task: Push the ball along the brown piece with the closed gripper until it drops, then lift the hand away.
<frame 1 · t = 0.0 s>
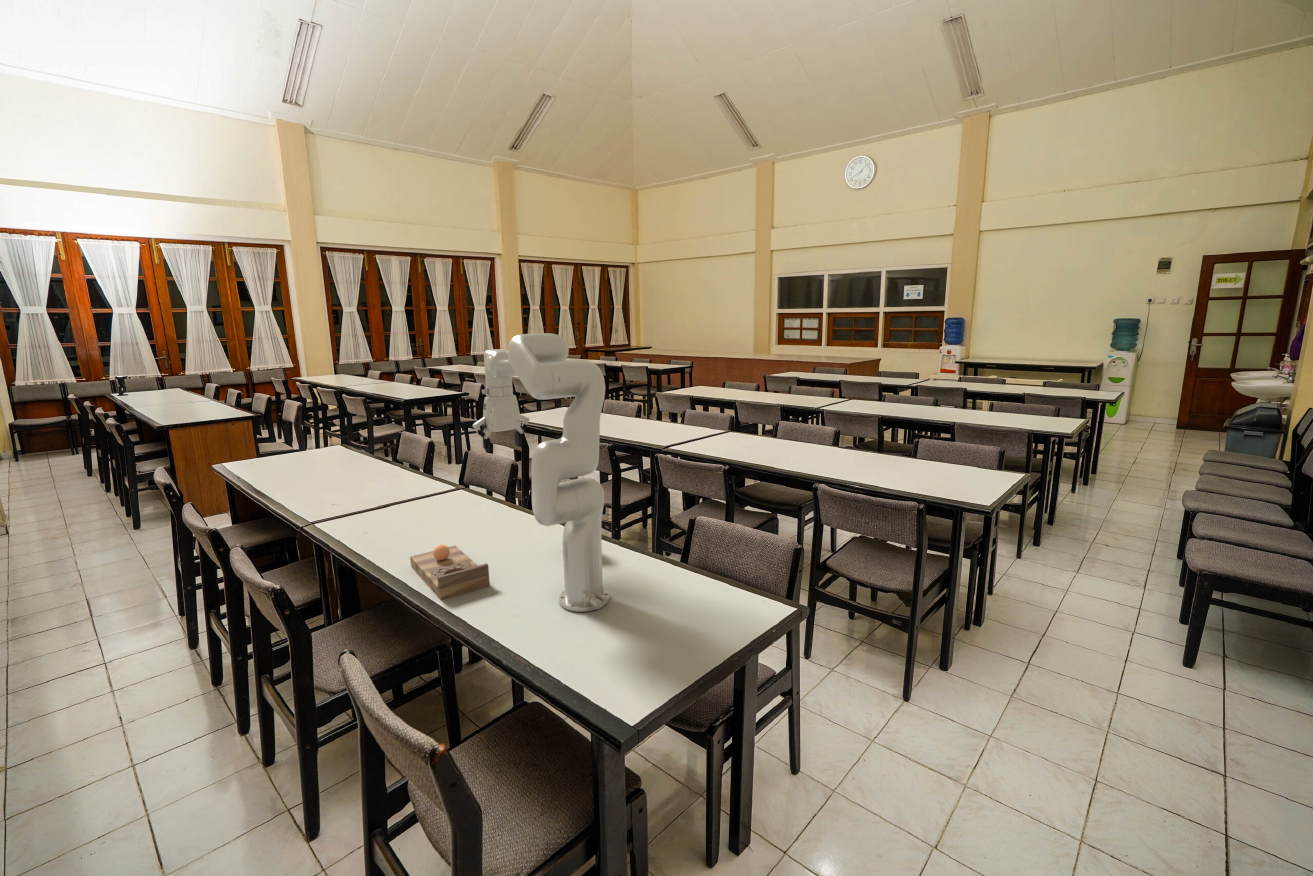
hand: (503, 448, 179), 31 cm above the table, fingers open, 9 cm apart
ball: (441, 552, 168), point 5 cm above the table, touching brown piece
brown piece: (448, 575, 165), on the table
supplement bottle: (576, 552, 180), on the table
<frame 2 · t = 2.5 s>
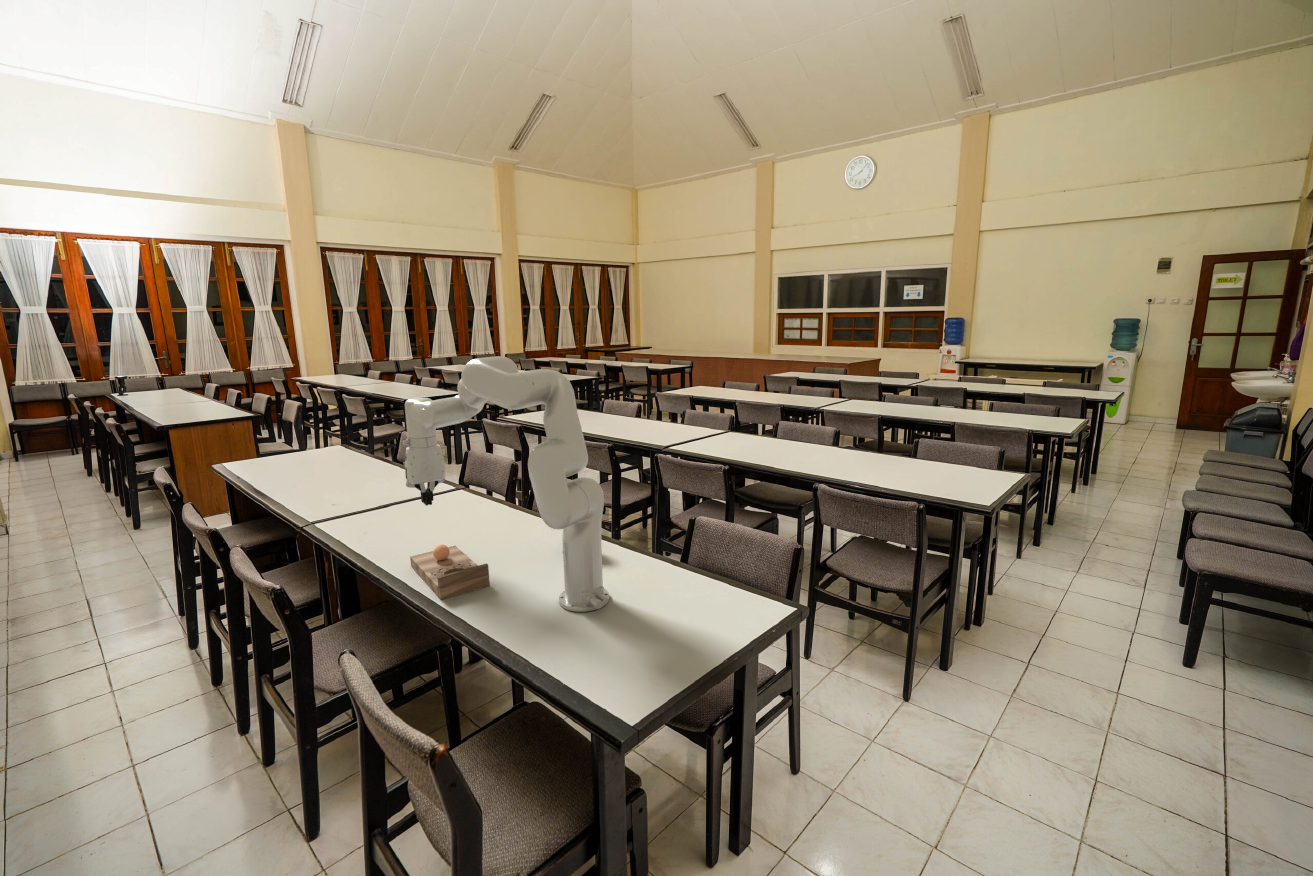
hand: (427, 503, 172), 17 cm above the table, fingers closed
nothing on the table moved.
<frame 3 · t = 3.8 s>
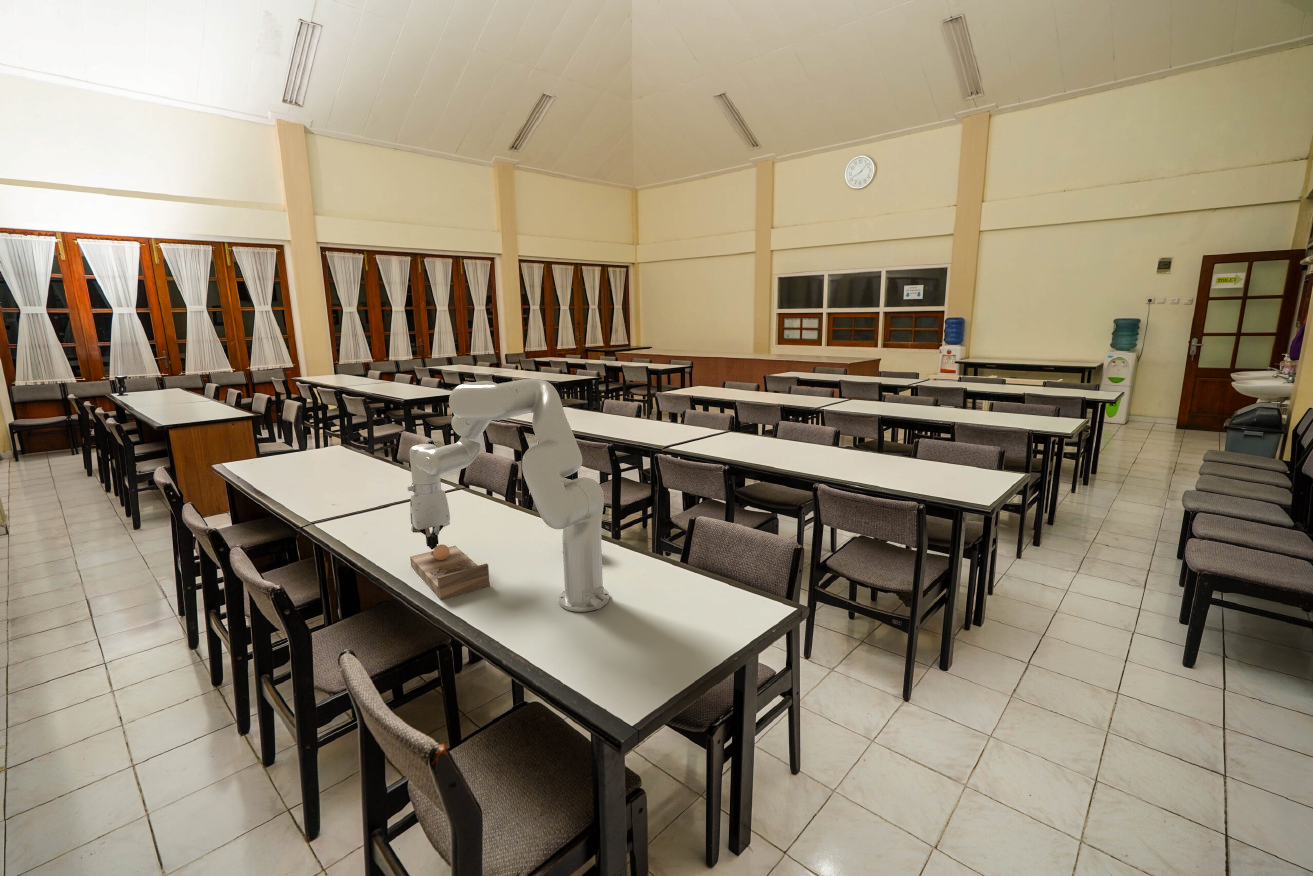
hand: (432, 547, 174), 4 cm above the table, fingers closed
nothing on the table moved.
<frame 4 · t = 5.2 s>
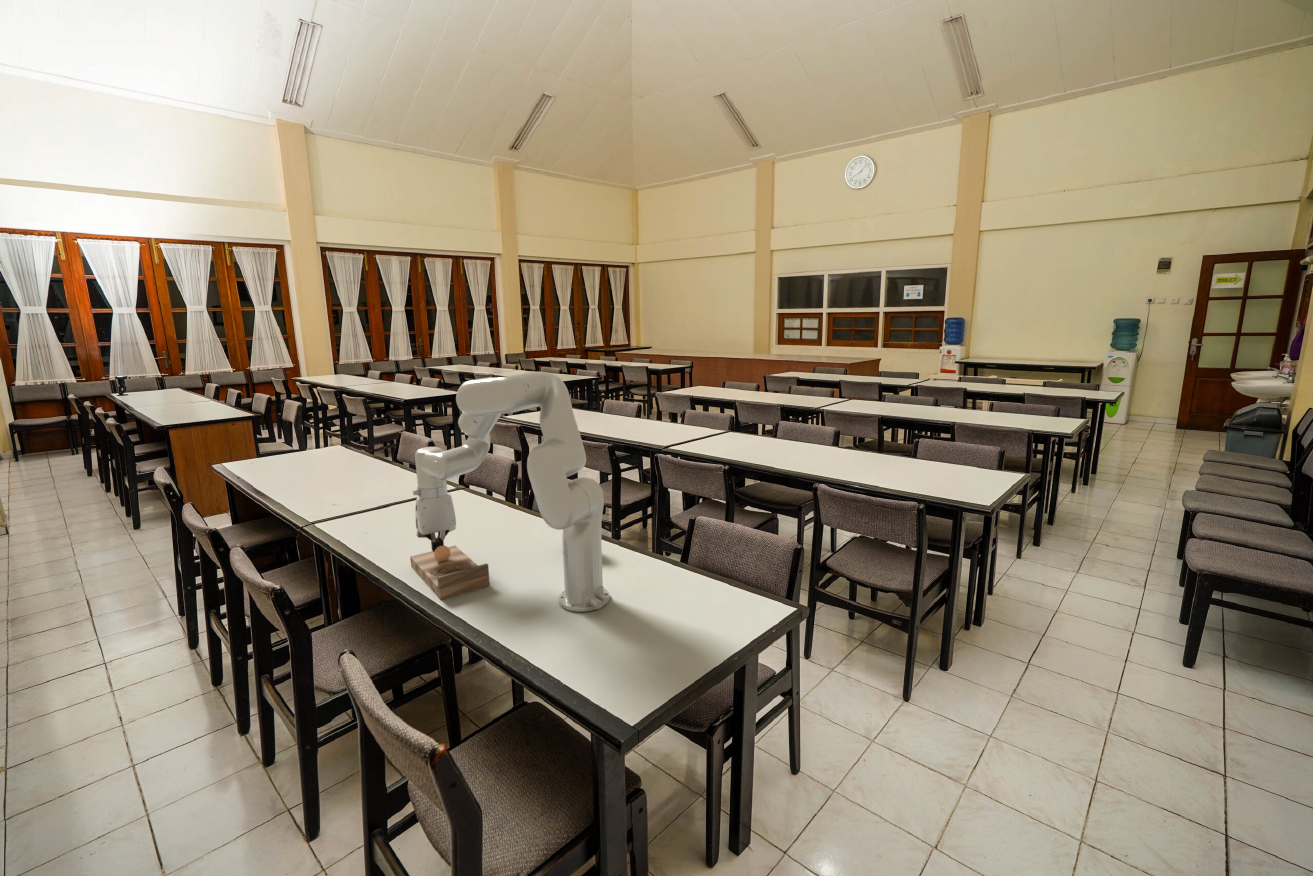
hand: (438, 552, 170), 4 cm above the table, fingers closed
ball: (442, 553, 167), point 5 cm above the table, tilted 25°, touching brown piece, gripper
everything else where it was.
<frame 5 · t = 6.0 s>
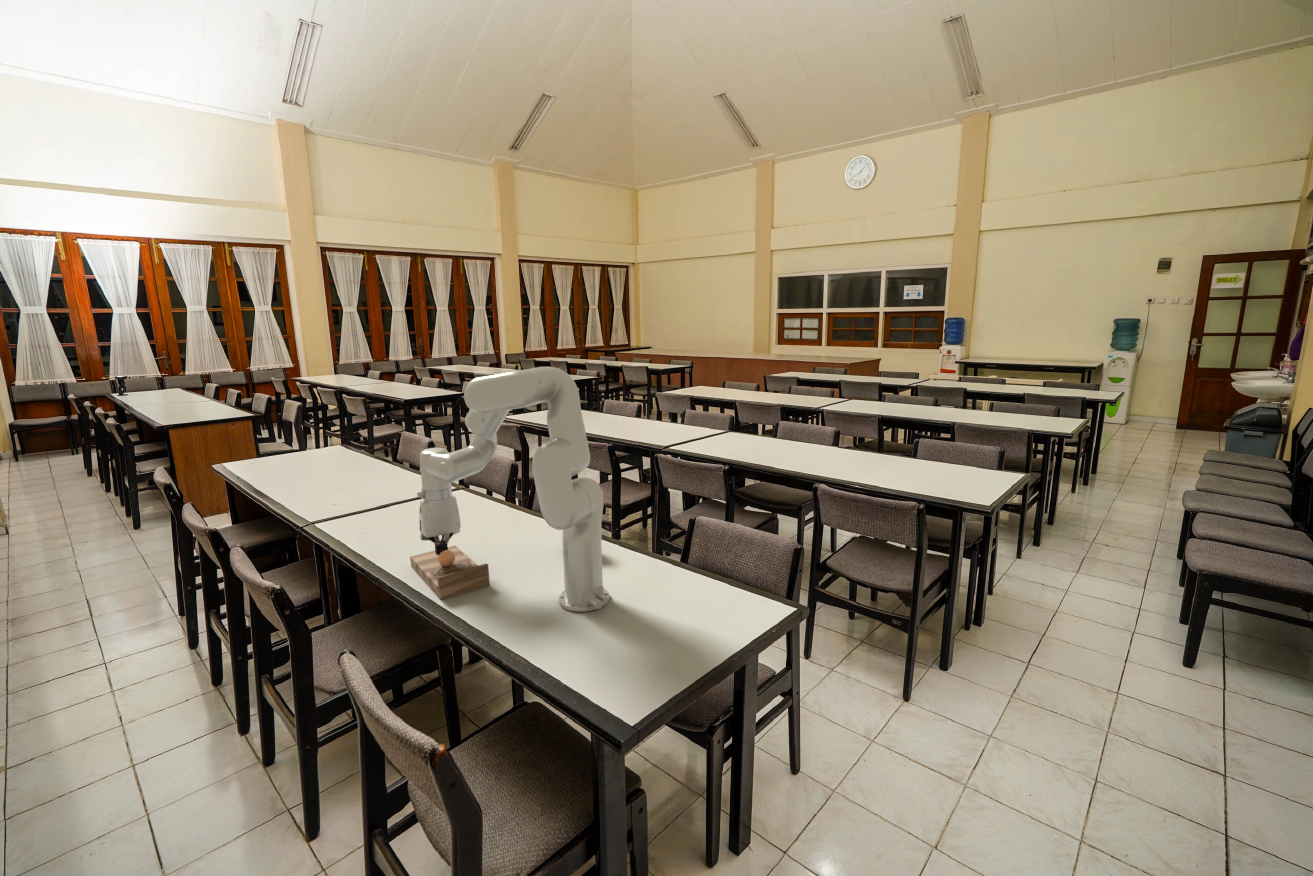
hand: (441, 555, 167), 5 cm above the table, fingers closed
ball: (446, 558, 164), point 5 cm above the table, tilted 85°, touching brown piece, gripper
everything else where it was.
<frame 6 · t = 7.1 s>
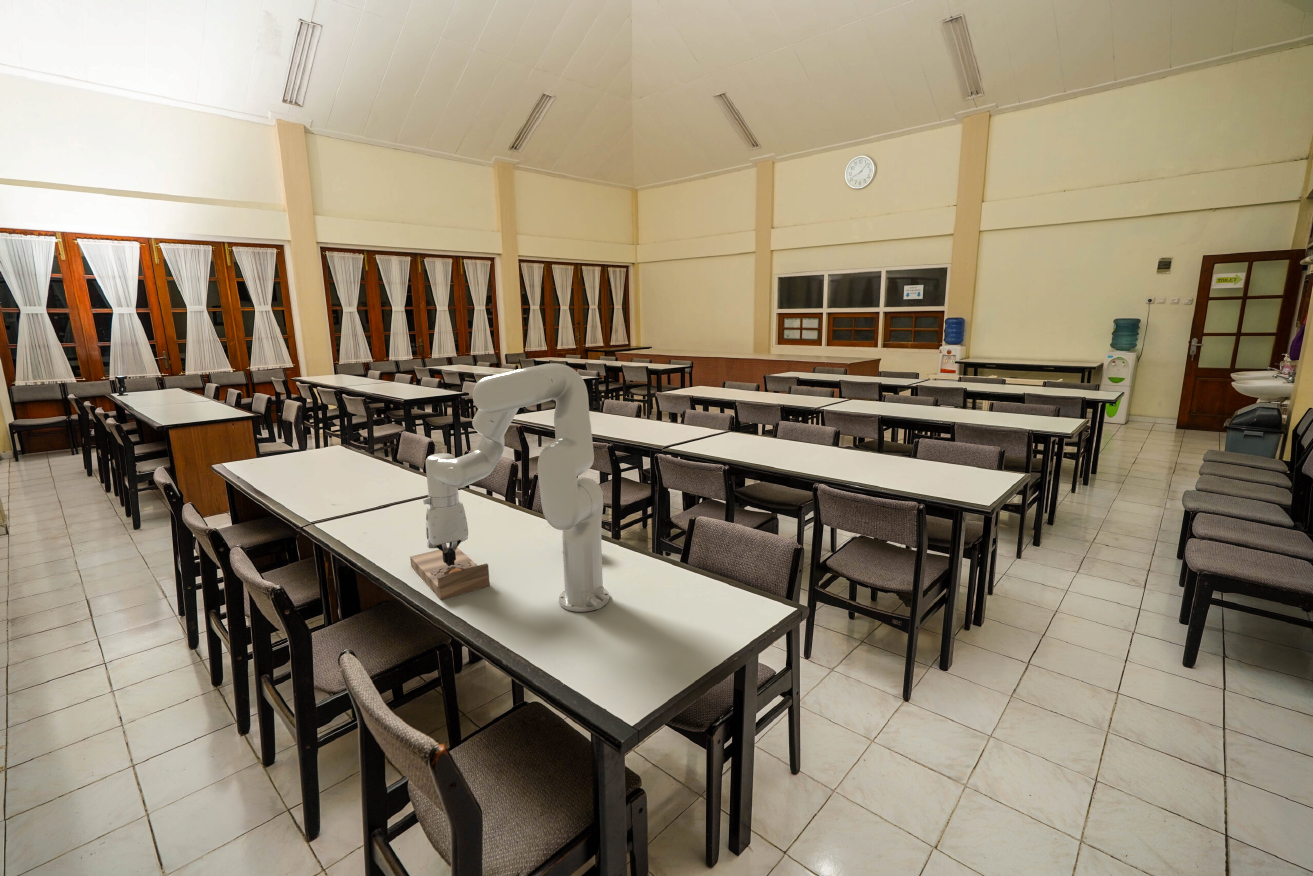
hand: (449, 563, 163), 4 cm above the table, fingers closed
ball: (456, 576, 159), point 2 cm above the table, tilted 95°
everything else where it was.
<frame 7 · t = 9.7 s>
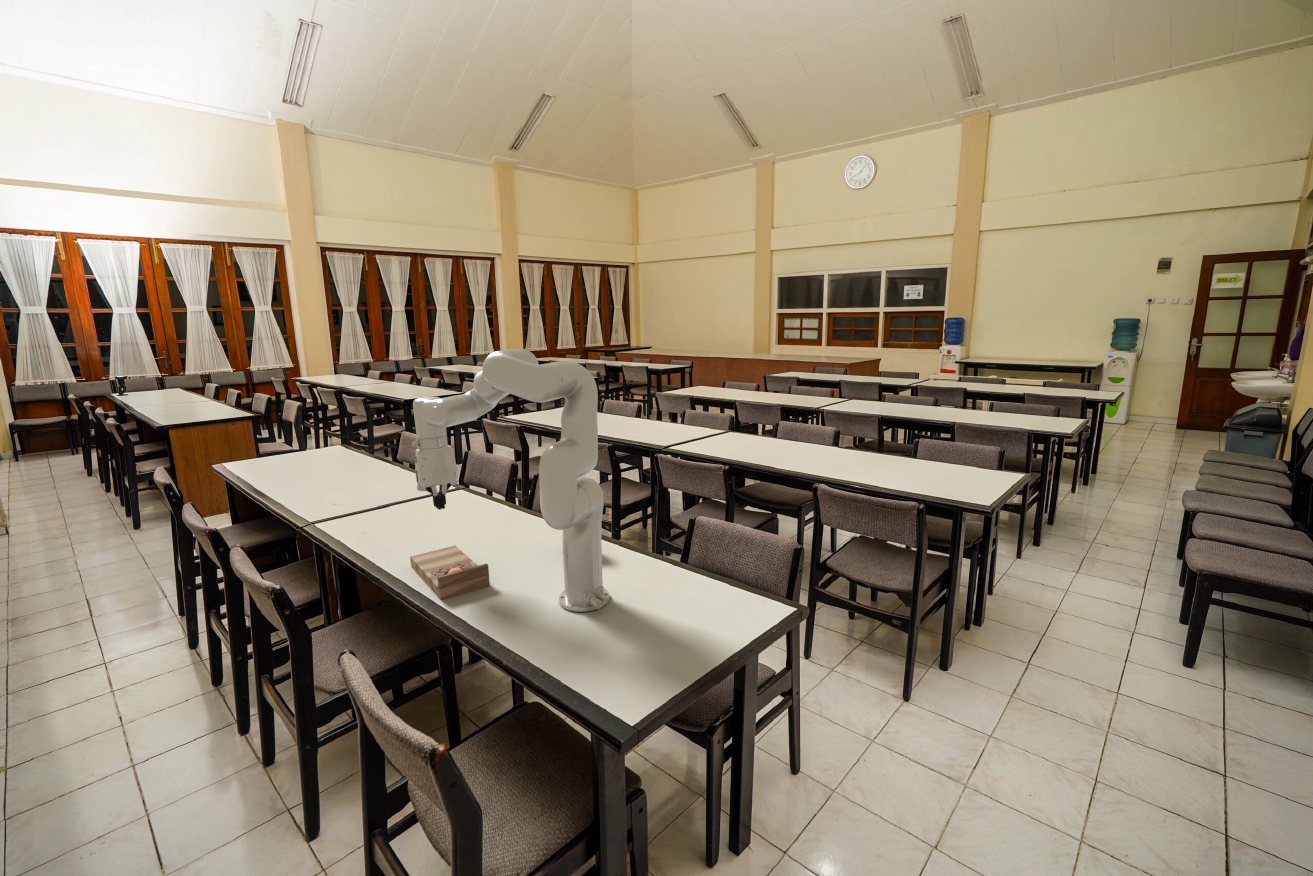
hand: (440, 508, 164), 19 cm above the table, fingers closed
ball: (455, 576, 160), point 2 cm above the table, tilted 109°
everything else where it was.
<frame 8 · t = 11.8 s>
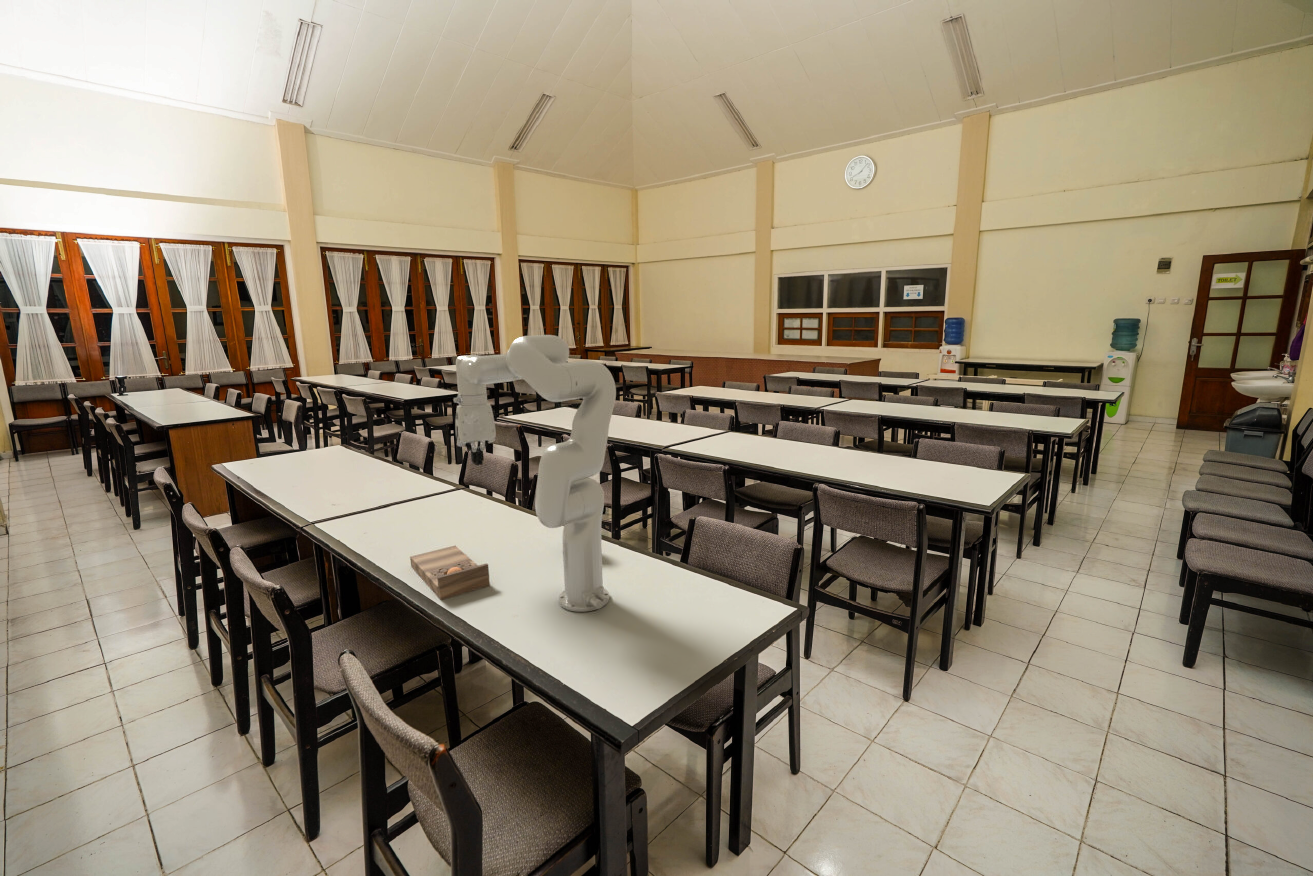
hand: (477, 464, 169), 29 cm above the table, fingers closed
ball: (455, 575, 160), point 2 cm above the table, tilted 121°
everything else where it was.
at the end: ball 0.3 cm from the target spot on the brown piece, point 2.2 cm above the brown piece's base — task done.
